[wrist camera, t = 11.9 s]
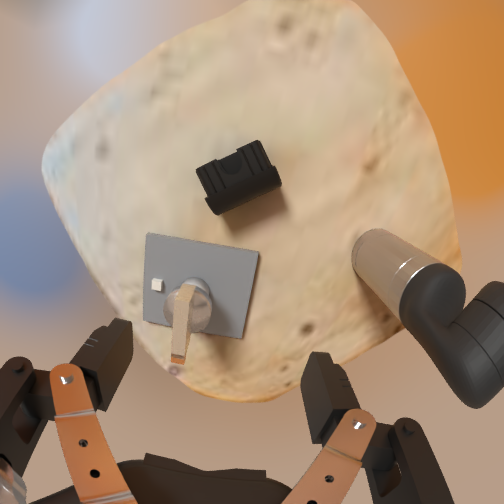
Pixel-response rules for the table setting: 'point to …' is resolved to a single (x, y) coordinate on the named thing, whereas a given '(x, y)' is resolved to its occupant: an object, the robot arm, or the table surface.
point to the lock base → (203, 265)
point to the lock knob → (186, 317)
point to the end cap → (238, 178)
